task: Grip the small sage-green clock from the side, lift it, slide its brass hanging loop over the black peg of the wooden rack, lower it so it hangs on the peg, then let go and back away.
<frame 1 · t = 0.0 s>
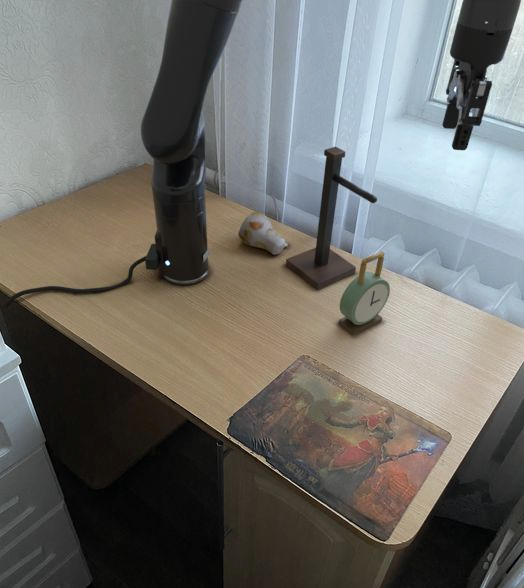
hand: (453, 138, 85), 29 cm above the table, tool pointing down, fingers open, 8 cm apart
spotted gourd: (264, 247, 114), on the table
clock: (359, 322, 97), on the table
rack: (320, 269, 109), on the table
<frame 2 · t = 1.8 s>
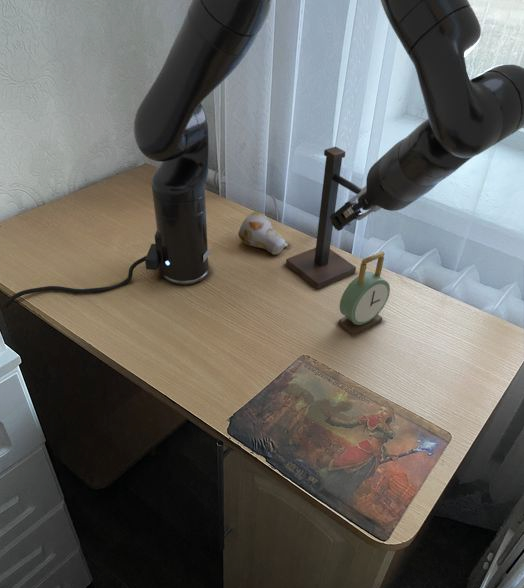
hand: (356, 212, 87), 19 cm above the table, tool tilted 45°, fingers open, 8 cm apart
nothing on the table moved.
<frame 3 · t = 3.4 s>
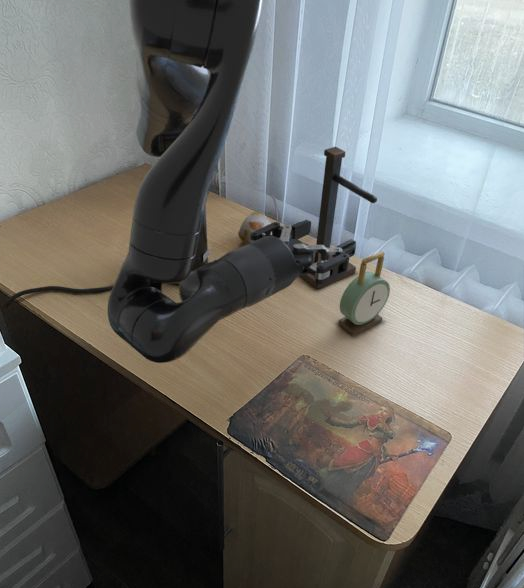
hand: (330, 235, 80), 20 cm above the table, tool horizontal, fingers open, 8 cm apart
nothing on the table moved.
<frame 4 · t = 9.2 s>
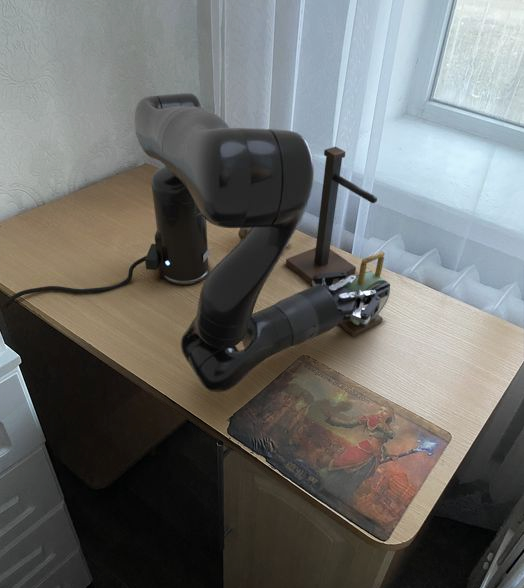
hand: (379, 281, 92), 8 cm above the table, tool horizontal, fingers closed on clock, 3 cm apart
clock: (360, 322, 97), on the table, touching gripper
everything else where it was.
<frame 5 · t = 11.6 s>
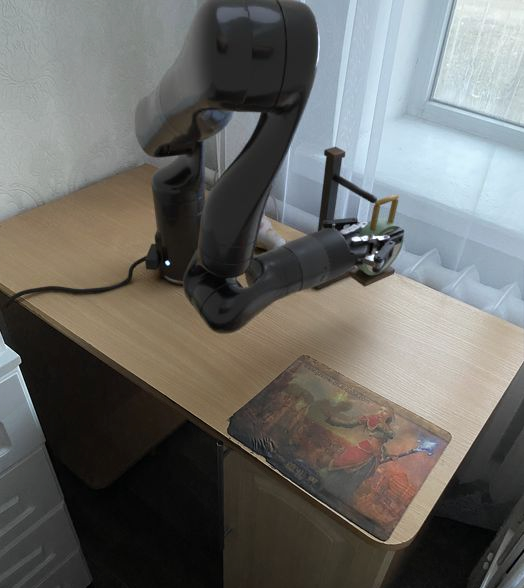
hand: (392, 229, 87), 17 cm above the table, tool horizontal, fingers closed on clock, 3 cm apart
clock: (371, 274, 92), point 9 cm above the table, touching gripper
everything else where it was.
when the fingers open (15 cm above the table, at t = 14.5 s): clock stays where it is, resting on rack.
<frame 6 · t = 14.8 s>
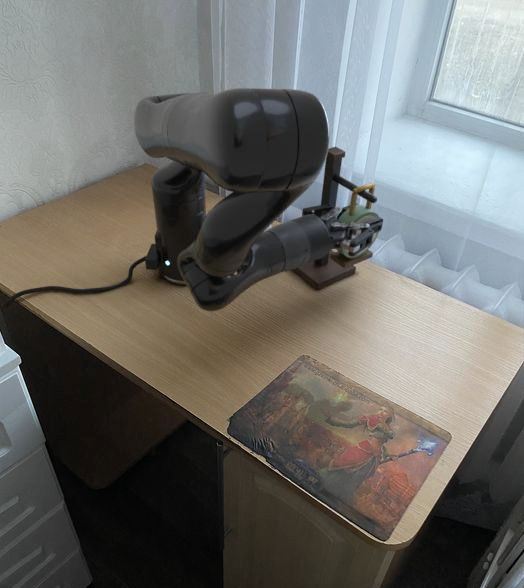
hand: (369, 216, 95), 15 cm above the table, tool horizontal, fingers open, 5 cm apart
clock: (351, 257, 99), point 7 cm above the table, touching rack
everything else where it was.
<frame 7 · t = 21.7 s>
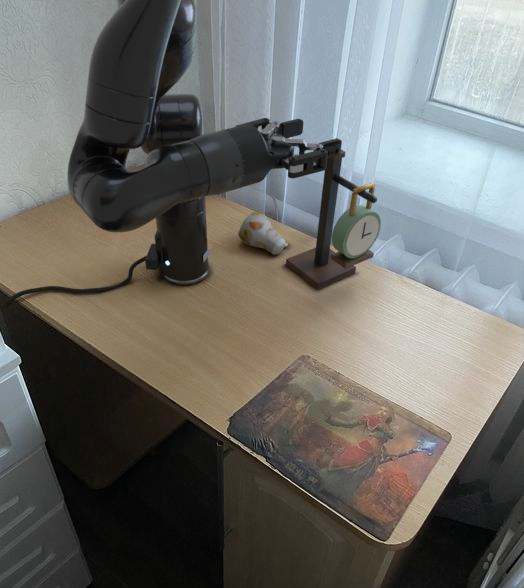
hand: (319, 135, 77), 32 cm above the table, tool horizontal, fingers open, 8 cm apart
nothing on the table moved.
at the end: clock 0.0 cm from the target spot, point 7.1 cm above the table; clock touching rack; the gripper is holding nothing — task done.
